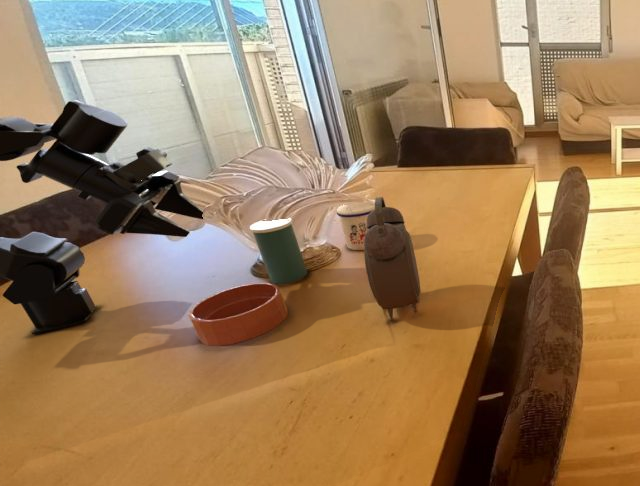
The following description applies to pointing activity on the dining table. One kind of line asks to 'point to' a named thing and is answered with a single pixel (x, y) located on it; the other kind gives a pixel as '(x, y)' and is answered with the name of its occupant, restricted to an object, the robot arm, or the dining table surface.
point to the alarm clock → (390, 259)
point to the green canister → (279, 250)
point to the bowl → (238, 314)
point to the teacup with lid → (355, 223)
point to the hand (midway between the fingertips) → (197, 225)
